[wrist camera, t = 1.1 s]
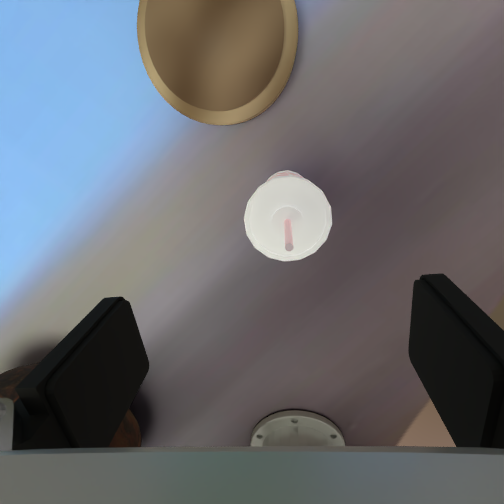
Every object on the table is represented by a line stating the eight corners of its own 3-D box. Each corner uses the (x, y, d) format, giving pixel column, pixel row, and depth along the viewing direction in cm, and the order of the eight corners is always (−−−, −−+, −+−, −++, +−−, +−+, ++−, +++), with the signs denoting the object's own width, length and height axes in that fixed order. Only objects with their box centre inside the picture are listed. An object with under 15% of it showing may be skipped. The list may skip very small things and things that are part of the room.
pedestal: (323, -4, 24) (330, -27, 20) (260, 147, 28) (257, 150, 25) (177, -78, 23) (157, -117, 19) (136, 90, 28) (114, 84, 24)
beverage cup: (314, 227, 31) (337, 300, 18) (252, 223, 31) (232, 291, 18) (321, 163, 29) (355, 195, 16) (255, 160, 29) (234, 187, 16)
